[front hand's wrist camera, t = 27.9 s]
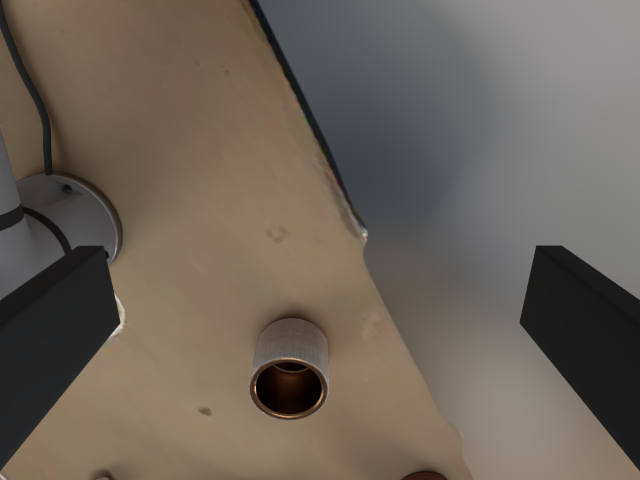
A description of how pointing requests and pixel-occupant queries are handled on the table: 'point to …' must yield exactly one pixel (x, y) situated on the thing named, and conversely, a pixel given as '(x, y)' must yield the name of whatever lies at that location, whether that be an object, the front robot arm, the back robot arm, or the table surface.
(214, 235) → the table surface
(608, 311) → the front robot arm
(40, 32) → the table surface
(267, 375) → the planter
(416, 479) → the music box
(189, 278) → the table surface
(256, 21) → the table surface
